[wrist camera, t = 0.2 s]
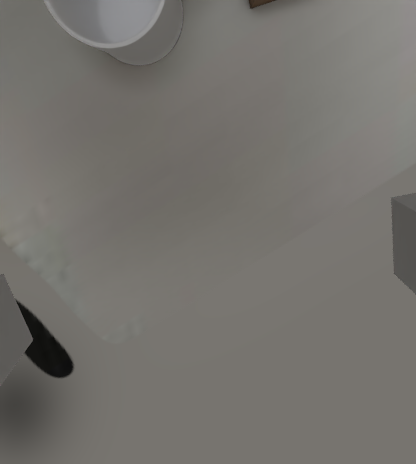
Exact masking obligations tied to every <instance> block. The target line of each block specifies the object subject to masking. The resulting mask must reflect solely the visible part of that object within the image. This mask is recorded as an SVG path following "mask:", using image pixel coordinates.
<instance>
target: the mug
mask: <svg viewBox="0 0 416 464" xmlns="http://www.w3.org/2000/svg"><path fill="white" fill-rule="evenodd" d="M44 2H45V4H46V6H47V8H48V10H49V12H50V13H51V15H52V16H53V18H54V19H55V20H56V21H57V23H58V24H59V25H60V26H61V27H62V28H63V29H64V30H65V31H66V32H67V33H69V34H70V35H71V36H73V37H74V38H76V39H77V40H79V41H81V42H83V43H85V44H87V45H89V46H92V47H94V48H97V49H99V50H102V51H104V52H107V53H109V54H110V55H111V56H113V57H114V58H116V59H117V60H119V61H121V62H124V63H127V64H131V65H148V64H151V63H154V62H157V61H159V60H160V59H162V58H163V57H165V56H166V55H167V54H168V53H169V52H170V51H171V50H172V48H173V47H174V46H175V44H176V42H177V40H178V38H179V36H180V33H181V29H182V25H183V6H182V1H181V0H44Z"/></svg>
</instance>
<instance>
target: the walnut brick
mask: <svg viewBox="0 0 416 464" xmlns="http://www.w3.org/2000/svg"><path fill="white" fill-rule="evenodd" d="M272 1H276V0H249V4H250V8H254V7H257V6H260V5H263V4H266V3H269V2H272Z"/></svg>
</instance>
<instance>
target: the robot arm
mask: <svg viewBox="0 0 416 464" xmlns="http://www.w3.org/2000/svg"><path fill="white" fill-rule="evenodd" d="M391 205H392V231H393V258H394V259H393V261H394V274H395V275H396V276H397V277H398V278H399V279H400V280H401V281H402V282H403V283H404V284H405V285H407V286H408V287H409V288H410V289H411V290H412V291H413V292H414V293H415V294H416V193H412V194H408V195H402V196H397V197H392V198H391ZM32 341H33V338H32V336H31V334H30V332H29V329H28V327H27V325H26V323H25V321H24V318H23V316H22V314H21V312H20V310H19V307H18V305H17V303H16V301H15V298H14V296H13V294H12V292H11V290H10V287H9V286H8V283H7V281H6V279H5V277H4V274H2V275H0V386H1V385H2V383H3V382H4V381H5V379H6V377H7V376H8V375H9V373H10V372H11V371H12V369H13V368H14V366H15V365H16V364H17V362H18V361H19V359H20V358H21V356H22V355H23V354H24V352H25V351H26V349H27V348H28V346H29V345H30V344H31V342H32Z"/></svg>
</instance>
